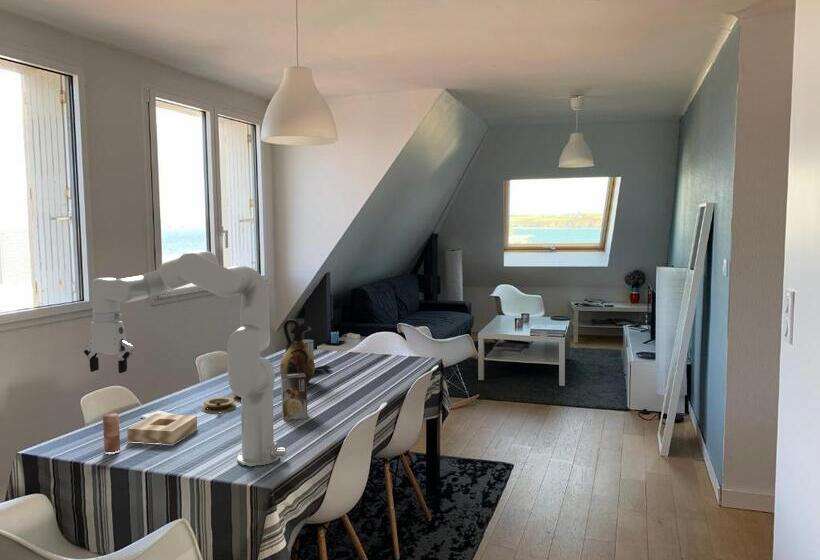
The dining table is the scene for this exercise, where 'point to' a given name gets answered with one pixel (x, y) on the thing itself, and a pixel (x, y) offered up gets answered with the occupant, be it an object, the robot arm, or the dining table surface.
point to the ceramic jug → (297, 352)
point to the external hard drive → (155, 413)
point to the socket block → (162, 429)
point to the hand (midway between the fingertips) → (108, 371)
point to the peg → (111, 432)
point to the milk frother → (310, 346)
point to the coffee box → (294, 396)
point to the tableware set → (220, 404)
